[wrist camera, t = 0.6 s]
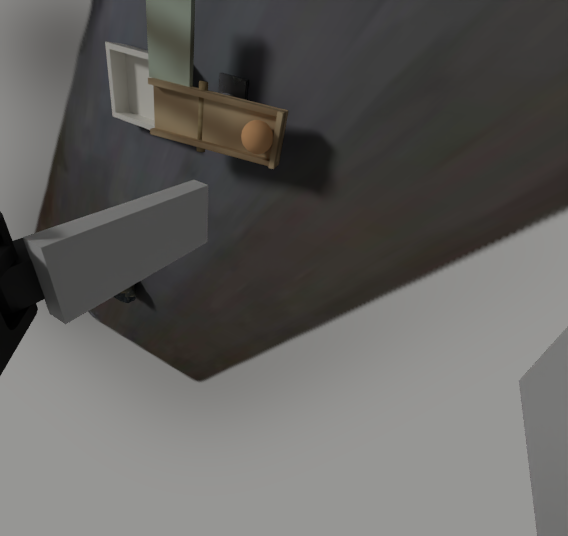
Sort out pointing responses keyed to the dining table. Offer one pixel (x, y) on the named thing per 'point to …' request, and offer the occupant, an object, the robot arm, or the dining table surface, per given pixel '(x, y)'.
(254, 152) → the ball
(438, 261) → the dining table surface
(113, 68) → the dish
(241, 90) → the fulcrum
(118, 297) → the stone
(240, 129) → the lever
